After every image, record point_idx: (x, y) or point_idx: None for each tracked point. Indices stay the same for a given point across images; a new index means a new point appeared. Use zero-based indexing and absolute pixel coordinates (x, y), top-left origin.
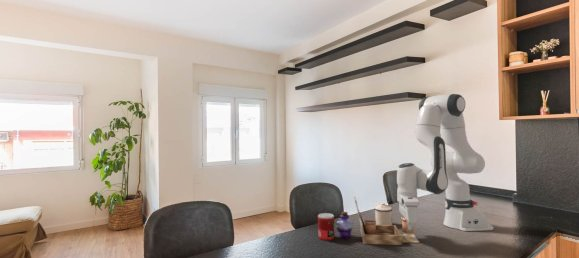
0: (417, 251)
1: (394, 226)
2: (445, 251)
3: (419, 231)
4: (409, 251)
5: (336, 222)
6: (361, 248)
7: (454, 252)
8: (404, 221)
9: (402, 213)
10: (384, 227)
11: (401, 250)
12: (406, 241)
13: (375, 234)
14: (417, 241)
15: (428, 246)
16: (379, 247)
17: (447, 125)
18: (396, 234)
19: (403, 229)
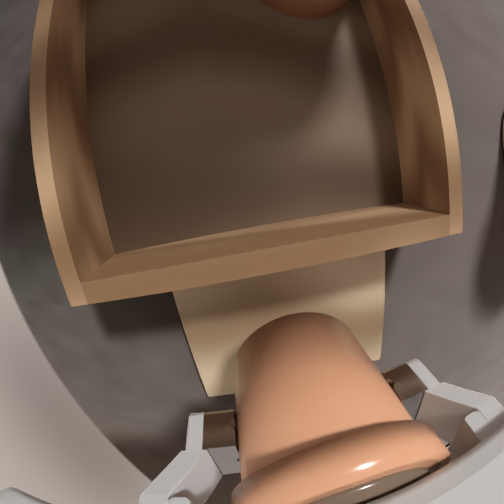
0: (54, 355)
1: (430, 220)
2: (137, 460)
3: (436, 372)
4: (29, 309)
5: None
6: (16, 11)
7: (146, 476)
8: (263, 465)
9: (476, 487)
10: (421, 98)
11: (19, 258)
12: (180, 312)
13: (284, 10)
14: (208, 388)
15: (168, 422)
16: (24, 95)
17: None
18: (291, 226)
19: (266, 347)
